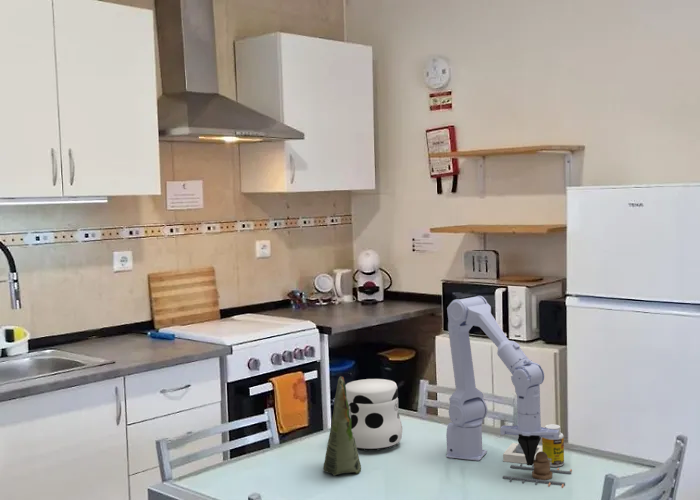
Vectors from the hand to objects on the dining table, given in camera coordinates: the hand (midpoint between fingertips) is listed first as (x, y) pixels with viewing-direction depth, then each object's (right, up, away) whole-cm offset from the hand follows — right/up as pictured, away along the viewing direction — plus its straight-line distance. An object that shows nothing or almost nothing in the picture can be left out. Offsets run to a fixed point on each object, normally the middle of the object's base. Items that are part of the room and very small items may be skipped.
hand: (530, 464), depth 206 cm
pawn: (+3, -3, -1) cm, 4 cm away
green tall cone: (-48, -5, +10) cm, 49 cm away
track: (+2, -3, 0) cm, 3 cm away
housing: (+2, -2, +14) cm, 14 cm away
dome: (+2, -2, +14) cm, 14 cm away
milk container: (-39, -3, +30) cm, 49 cm away
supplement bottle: (+8, -2, +8) cm, 11 cm away
